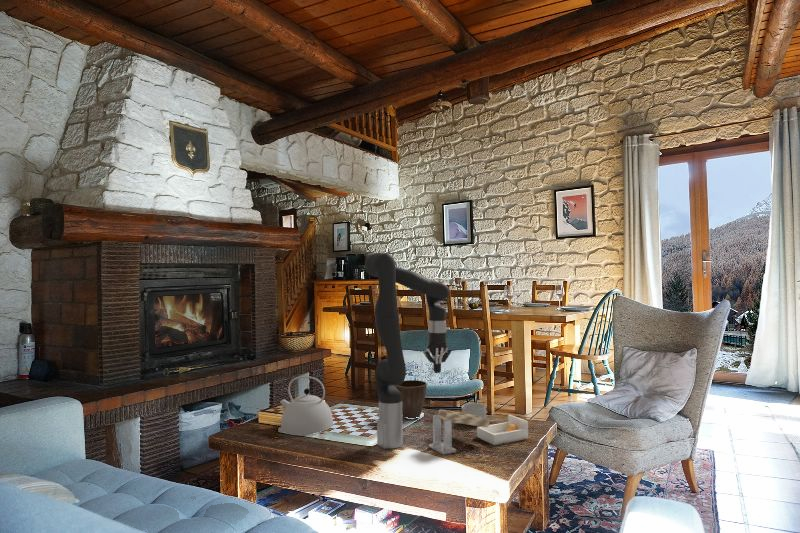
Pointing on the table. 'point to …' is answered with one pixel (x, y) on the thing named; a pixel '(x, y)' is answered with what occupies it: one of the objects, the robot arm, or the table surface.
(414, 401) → the plant pot
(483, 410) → the teacup
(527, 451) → the table surface
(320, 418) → the kettle
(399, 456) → the table surface
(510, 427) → the ball
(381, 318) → the robot arm
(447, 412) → the chute lever
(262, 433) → the table surface
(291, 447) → the table surface
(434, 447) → the pivot stand
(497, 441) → the bin
